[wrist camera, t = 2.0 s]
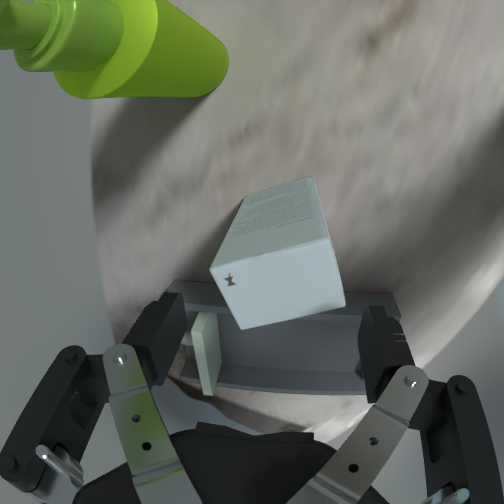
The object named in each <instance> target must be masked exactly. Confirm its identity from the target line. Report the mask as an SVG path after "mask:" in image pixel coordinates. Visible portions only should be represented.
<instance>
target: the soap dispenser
mask: <svg viewBox="0 0 504 504" xmlns="http://www.w3.org/2000/svg"><path fill="white" fill-rule="evenodd" d="M7 49H14V56H15V59H16V62H17V63H18V65H19V66H20V68H22V69H23V70H25V71H29V72H52V71H53V73H54V75H55V78H56V80H57V82H58V84H59V85H60V86H61V87H62V89H63V90H64V91H66V92H67V93H68V94H70V95H72V96H74V97H77V98H81V99H97V98H115V97H186V98H194V97H200V96H203V95H205V94H208V93H209V92H211V91H213V90H214V89H215V88H216V87H217V86H218V85H219V84H220V83H221V82H222V80H223V79H224V77H225V75H226V73H227V70H228V65H229V58H228V53H227V50H226V48H225V46H224V45H223V43H222V42H221V41H220V40H219V39H218V38H216V37H215V36H214V35H213V34H211V33H210V32H209V31H208V30H206V29H205V28H204V27H203V26H201V25H200V24H199V23H197V22H196V21H195V20H193V19H192V18H191V17H189V16H188V15H187V14H185V13H184V12H182V11H181V10H180V9H178V8H177V7H175V6H174V5H173V4H171V3H170V2H168V1H167V0H34V1H33V2H29V1H22V0H0V50H7Z"/></svg>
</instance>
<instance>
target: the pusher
mask: <svg viewBox="0 0 504 504" xmlns="http://www.w3.org/2000/svg"><path fill="white" fill-rule="evenodd" d="M181 344H184V345H191V346H194V351H195V356H196V361H197V366H198V371H199V376H200V380H201V385H202V390H203V394H204V395H210V396H213V393H214V389H215V386H216V382H217V379H218V376H219V372H220V369H221V365H222V358H221V349H220V339H219V330H218V320H217V313H209V312H200V311H199V314H198V316H197V318H196V320H195V323H194V325H193V327H192V330H191V333H190V332H185V335H184V337H183V339H182V341H181Z"/></svg>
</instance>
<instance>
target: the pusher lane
mask: <svg viewBox="0 0 504 504" xmlns="http://www.w3.org/2000/svg"><path fill="white" fill-rule="evenodd" d="M167 291H168V292H178V293H182V295H183V300H184V306H185V312H186V318H187V328H186V332H190V333H191V330H192V327H193V325H194V323H195V320H196V318H197V316H198V314H199V311H200V312H209V313H217V320H218V330H219V339H220V349H221V358H222V365H221V369H220V372H219V376H218V379H217V382H216V386H219V387H227V388H234V389H243V390H252V391H262V392H274V393H288V394H308V395H367V394H366V388H365V382H364V376H363V370H362V365H361V359H360V354H359V349H358V342H357V339H358V331H359V328H360V324H361V320H362V316H363V313H364V309H365V306H366V305H383V306H384V308H385V311H386V314H387V316H388V317H394V318H395V319H396V320H397V321H398V322H399V321H400V318H401V315H400V312H399V309H398V307H397V304H396V302H395V299H394V297H393V295H392V293H364V292H344V296H345V302H346V305H345V306H344V307H341V308H337V309H333V310H329V311H325V312H321V313H316V314H312V315H308V316H304V317H300V318H295V319H291V320H287V321H282V322H278V323H273V324H269V325H263V326H259V327H254V328H249V329H244V330H241V329H240V327H239V325H238V324H237V322H236V320H235V318H234V316H233V315H232V313H231V311H230V309H229V307H228V305H227V303H226V301H225V299H224V297H223V295H222V293H221V291H220V290H219V288H218V286H217V284H216V283H205V282H194V281H183V280H174V281H173V283H172V284H171V286H170V287H169V289H168V290H167ZM184 346H185V350H186V355H187V360H186V363H185V365H184V368H183V370H182V373H181V375H180V378H181V380H182V381H188V382H193V383H199V384H201V380H200V376H199V371H198V366H197V361H196V356H195V351H194V346H191V345H184Z"/></svg>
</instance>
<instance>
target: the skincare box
mask: <svg viewBox="0 0 504 504" xmlns="http://www.w3.org/2000/svg"><path fill="white" fill-rule="evenodd" d="M209 271H210V273H211V275H212V277H213V278H214V280H215V282H216V284H217V286H218V288H219V290H220V291H221V293H222V295H223V297H224V299H225V301H226V303H227V305H228V307H229V309H230V311H231V313H232V315H233V316H234V318H235V320H236V322H237V324H238V325H239V327H240V329H241V330H244V329H249V328H254V327H259V326H263V325H269V324H273V323H278V322H282V321H287V320H291V319H295V318H300V317H304V316H308V315H312V314H316V313H321V312H325V311H329V310H333V309H337V308H341V307H344V306H345V305H346V302H345V296H344V291H343V286H342V282H341V277H340V273H339V269H338V264H337V261H336V257H335V253H334V249H333V246H332V242H331V238H330V235H329V231H328V227H327V223H326V219H325V215H324V212H323V208H322V205H321V201H320V198H319V194H318V191H317V188H316V185H315V182H314V179H313V177H308V178H305V179H301V180H298V181H295V182H291V183H288V184H285V185H281V186H278V187H275V188H272V189H269V190H265V191H262V192H259V193H256V194H253V195H250V196H247V197H245V198H244V200H243V202H242V204H241V206H240V208H239V210H238V212H237V214H236V216H235V218H234V220H233V222H232V224H231V226H230V228H229V230H228V232H227V234H226V236H225V238H224V240H223V242H222V244H221V246H220V248H219V250H218V252H217V254H216V256H215V258H214V260H213V262H212V265H211V267H210V269H209Z"/></svg>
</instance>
